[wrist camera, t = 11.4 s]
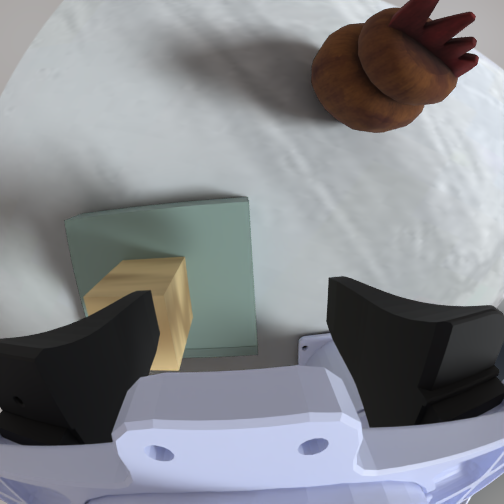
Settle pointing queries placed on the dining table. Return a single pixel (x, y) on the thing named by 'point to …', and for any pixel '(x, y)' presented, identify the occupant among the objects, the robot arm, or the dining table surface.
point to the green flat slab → (196, 256)
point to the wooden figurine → (391, 66)
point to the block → (164, 298)
